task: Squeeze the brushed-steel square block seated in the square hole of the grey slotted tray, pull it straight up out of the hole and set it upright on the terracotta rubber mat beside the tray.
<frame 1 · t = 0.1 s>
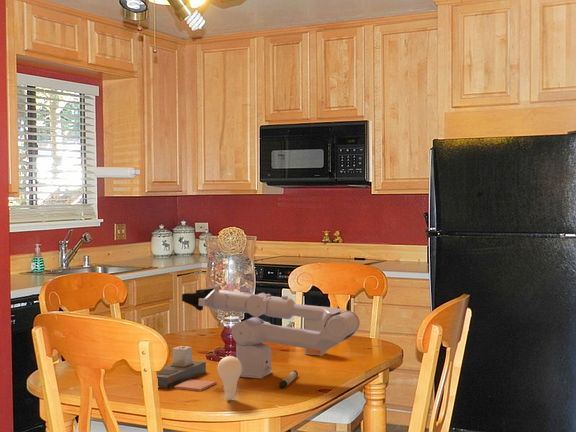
hand: (189, 295, 229), 22 cm above the table, tool horizontal, fingers open, 7 cm apart
skincare box: (315, 354, 248), on the table
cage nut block: (182, 375, 222), resting in grey slotted tray
lightbulb: (230, 401, 195), on the table
grey slotted tray: (175, 378, 218), on the table
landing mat: (195, 386, 209), on the table
marker: (287, 384, 212), on the table
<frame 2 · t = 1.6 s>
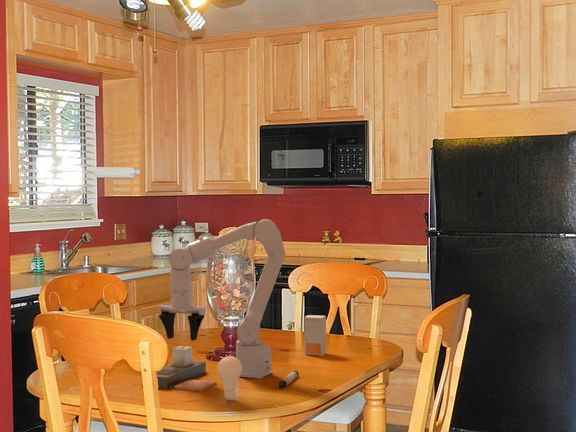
hand: (182, 339, 221), 10 cm above the table, tool pointing down, fingers open, 7 cm apart
nothing on the table moved.
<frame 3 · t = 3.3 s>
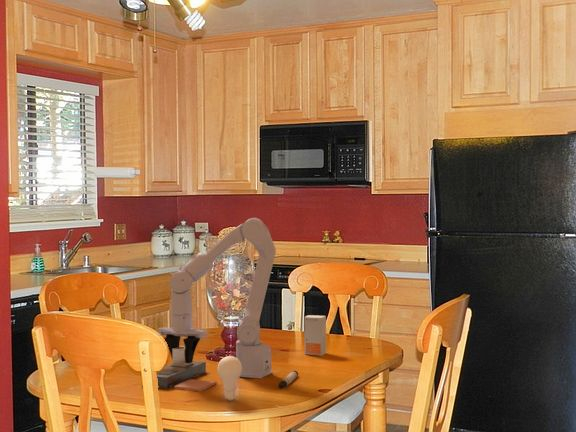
hand: (182, 362, 221), 4 cm above the table, tool pointing down, fingers closed on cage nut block, 4 cm apart
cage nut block: (182, 375, 222), resting in grey slotted tray, touching gripper
everything else where it was.
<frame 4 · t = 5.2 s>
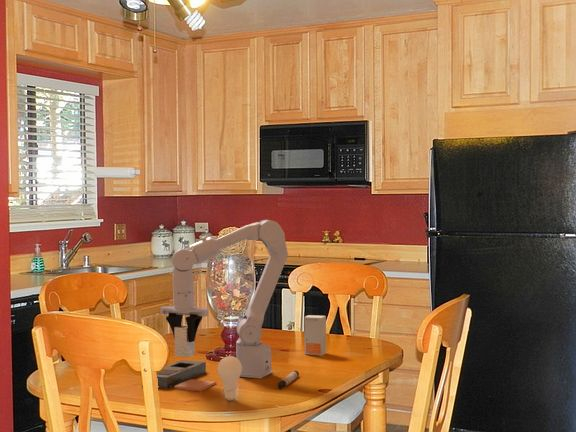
hand: (184, 340, 219), 10 cm above the table, tool pointing down, fingers closed on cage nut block, 4 cm apart
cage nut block: (185, 355, 219), point 6 cm above the table, touching gripper
everything else where it was.
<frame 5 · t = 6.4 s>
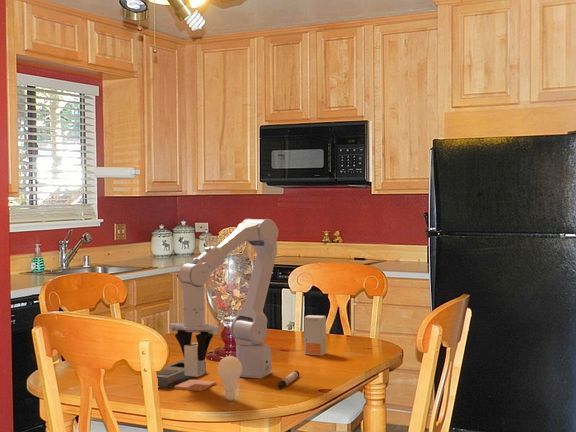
hand: (194, 359, 209), 7 cm above the table, tool pointing down, fingers closed on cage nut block, 4 cm apart
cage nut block: (194, 374, 209), point 3 cm above the table, touching gripper
everything else where it was.
when the fingers open (6 cm above the table, at t = 7.5 s): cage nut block drops 1 cm, resting on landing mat.
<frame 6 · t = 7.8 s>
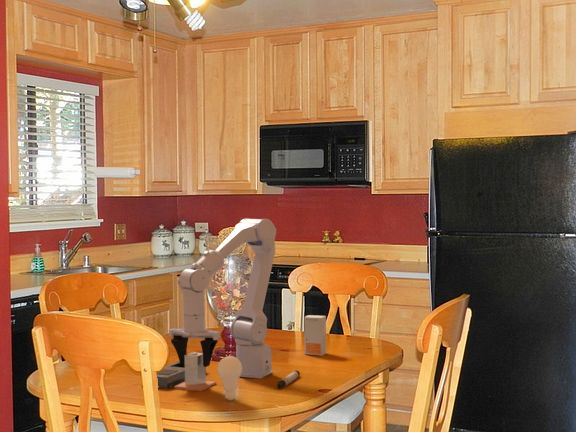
hand: (194, 365, 209), 6 cm above the table, tool pointing down, fingers open, 7 cm apart
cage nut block: (195, 384, 209), point 1 cm above the table, touching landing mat
everything else where it was.
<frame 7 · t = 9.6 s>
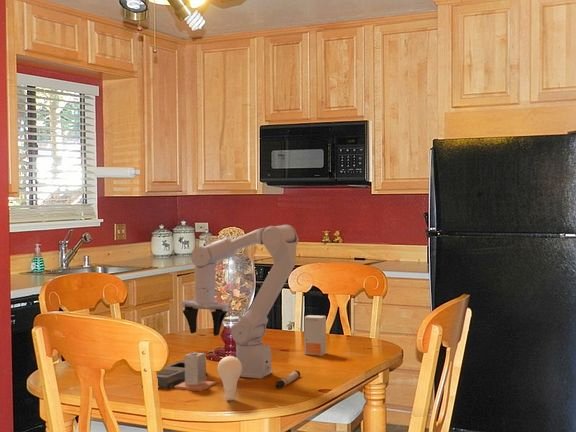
hand: (204, 334, 228), 10 cm above the table, tool pointing down, fingers open, 7 cm apart
nothing on the table moved.
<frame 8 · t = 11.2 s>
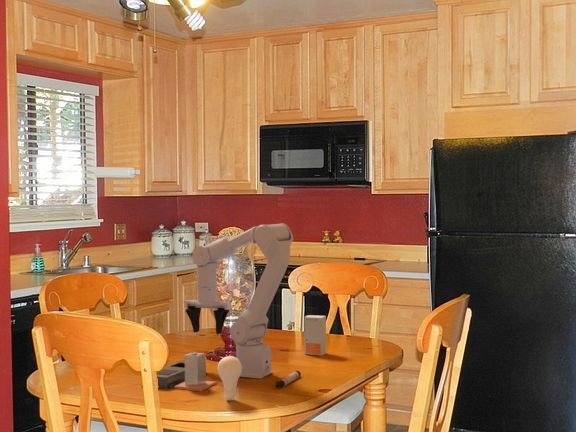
hand: (207, 332, 231), 10 cm above the table, tool pointing down, fingers open, 7 cm apart
nothing on the table moved.
at the end: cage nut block inside the target area on the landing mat (0.1 cm from its centre), point 0.6 cm above the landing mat's base; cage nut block tilted 0°; the gripper is holding nothing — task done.
